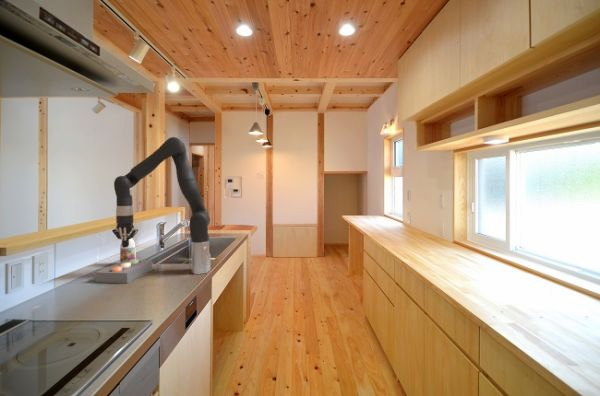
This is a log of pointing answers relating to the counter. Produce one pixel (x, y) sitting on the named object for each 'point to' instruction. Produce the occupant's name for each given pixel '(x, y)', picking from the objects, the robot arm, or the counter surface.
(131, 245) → the milk bottle
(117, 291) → the counter surface
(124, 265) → the off-white button
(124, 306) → the counter surface
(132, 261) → the sage button
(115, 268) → the terracotta button
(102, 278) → the button console
